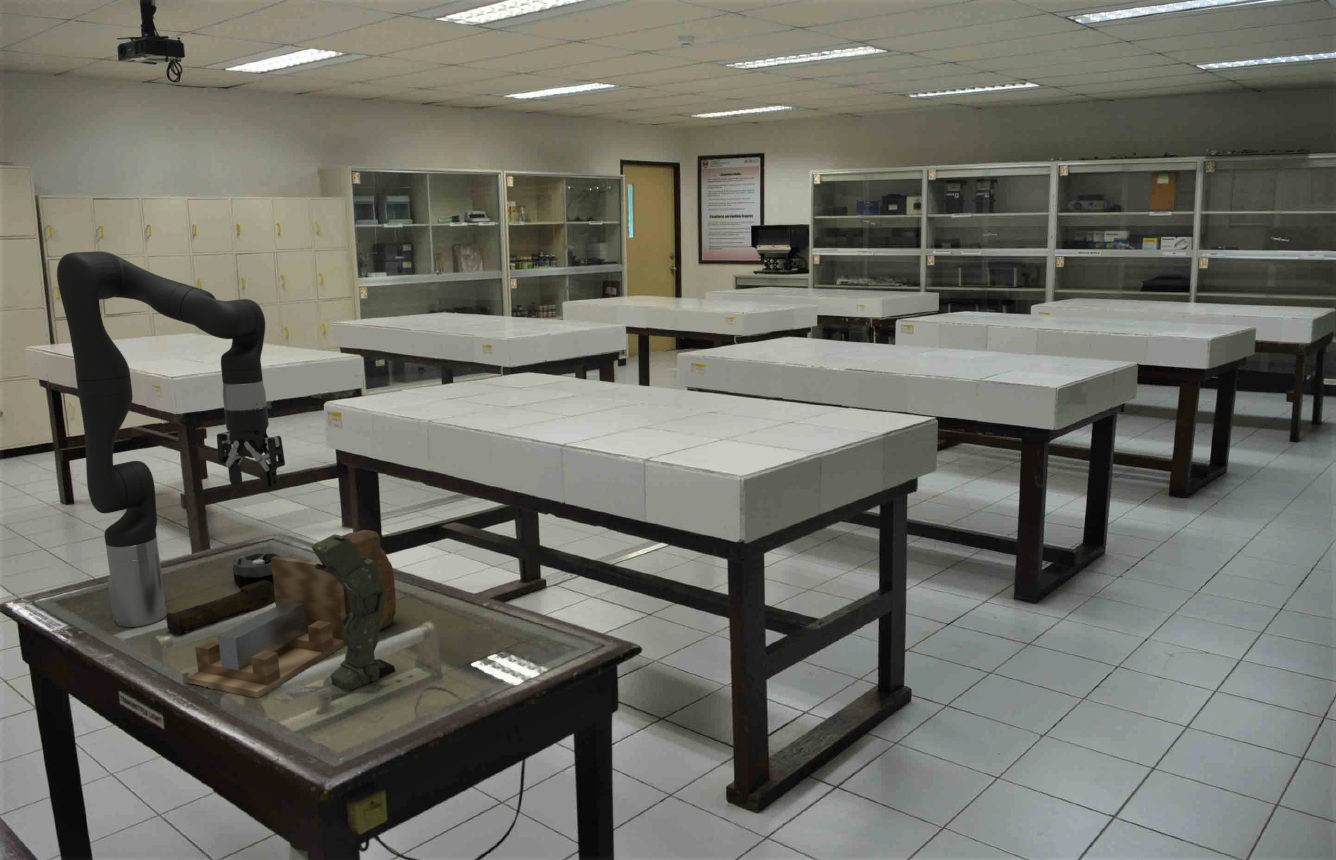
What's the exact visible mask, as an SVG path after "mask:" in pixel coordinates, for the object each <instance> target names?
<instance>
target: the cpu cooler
mask: <svg viewBox="0 0 1336 860" xmlns="http://www.w3.org/2000/svg"><path fill="white" fill-rule="evenodd" d="M275 556H277V557H282V556H281V555H280V554H277V553H272V552H259V553H251V554H247V555H241V556H239V557H236V558H234V559H233V560H234V562H233V563H232V566H233V568H232V571H233V572H232V573H233V581H234V583H235V584H236V586H237V587H238V588H239V590H241V588H242V587H243V586H246V585H247V584H252V583H256V582H259V581H263V580H268V581H270V582H271V583H272V584H273V586H274V582H273V572H272V563H271V558H273V557H275Z"/></svg>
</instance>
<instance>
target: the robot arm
mask: <svg viewBox="0 0 1336 860" xmlns="http://www.w3.org/2000/svg"><path fill="white" fill-rule="evenodd" d="M56 281H57V286H58V291H59V295H60V299H61V302H62V306H63V310H64V315H65V317H66V322H67V327H68V331H69V336H70V337H69V338H70V342H71V348H72V349H71V350H72V355H73V360H74V369H75V378H76V387H77V394H78V400H79V406H80V410H81V417H82V424H83V431H84V432H83V433H84V441H85V442H84V443H85V469H86V485H87V491H88V497H89V499H90V503H91V504H92V506H93V508H94V509H95V510H96V511H97V512H98V513H101V514H104V515H105V514H111V513H115V512H121V511H123V510H125V512H124V513H123V515H122V516H121V517H120V518H119V519H118V520H116V521H115V522H114V523H112V524H110V525H109V526H108V527H107V528H106V529H105V531H104V541H105V549H106V556H107V563H108V571H109V576H108V577H107V586H108V592H109V599H110V605H111V612H112V620H113V622H116V624H117V625H118V626H120V627H123V628H136V627H143V626H147V625H151V624H155V623H157V622H159V621H161V620H162V619H164V618H165V617H166V615H167V605H166V599H165V591H164V590H165V589H164V581H163V575H162V567H161V560H160V551H159V545H158V537H157V535H158V534H157V525H158V515H157V499H156V498H157V497H156V488H155V481H154V476H153V474H152V472H151V469H150V468H149V466H148V465H147V464H146V463H145V462H143V461H140V460H131V461H126V462H122V463H117V464H114V446H115V442H116V439H117V437H118V433H120V432H119V431H120V430H121V427H122V425H123V423H124V421H125V419H126V418H127V415H128V413H129V411H130V409H131V406H132V404H133V403H132V402H133V396H134V395H133V387H132V379H131V371H130V366H129V364H128V362H127V359H126V357H125V356H124V355H123V353H122V352H121V350H120V349H119V348H118V346H117V345H116V344H115V342H114V341H113V340H112V338H111V337H110V335H109V334H108V332H107V330H106V328H105V326H104V322H103V318H102V312H101V306H100V304H101V303H100V301H101V300H109V299H112V298H119V299H120V298H121V299H129V300H134V301H139V302H142V303H144V304H146V305H147V306H149V307H151V308H152V309H153V310H154V311H156V312H157V313H159V314H160V315H162V316H164V317H167V318H170V319H172V320H176V321H179V322H181V323H185V324H189V325H192V326H195V327H196V328H197V329H199V330H201V331H202V332H205V333H206V334H208V335H210V336H213V337H216V338H219V339H224V340H231V345H230V349H229V350H227V351H225V352H224V353H223V354H222V355H221V357H220V369H221V370H220V371H221V377H222V378H221V379H222V400H223V401H222V402H223V409H224V411H223V412H224V419H225V421H224V422H225V427H226V428H225V429H226V431H224V432H220V433H217V434H216V443H217V444H216V445H217V461H218V463H219V464H223V465H225V466H226V467H227V471H228V477H229V478H228V479H229V482H230V484H231V486H232V487H233V486H234V487H237V486H240V485H242V484H243V477H242V465H240V464H241V462H242V460H243V458H246V457H248V458H249V459H254V460H255V462H257V463H259V464H260V465H261V467H262V468H263V470H264V471H263V479H264V486H265V490H268V491H271V490H274V489H276V488H277V486H278V483H279V482H278V476H277V475H278V473H277V470H278V468H281V467H284V466H285V465H286V461H285V454H284V447H283V441H282V436H280V435H276V436H268V434H267V433H268V432H267V429H268V427H269V424H270V423H269V416H268V413H269V412H268V405H267V404H268V403H267V394H266V389H265V385H264V378H263V368H262V361H261V359H262V358H261V357H262V352H263V347H264V339H265V334H266V318H265V315H264V312H263V310H262V308H261V307H260V305H259V304H258V303H257V302H256V301H254V300H252V299H249V298H247V299H246V298H241V299H233V300H221V299H216V296H215V295H213V294H212V293H211V292H209V291H208V290H205V289H203V288H200V287H196V286H193V285H189V284H185V283H182V282H179V281H176V280H172V279H169V278H167V277H163V276H161V275H157V274H155V273H152V272H151V271H148V270H146V269H144V268H142V267H140V266H138V265H136V264H134V263H132V262H129V261H128V260H126V259H124V258H122V257H121V256H118V255H116V254H114V253H111V252H107V251H100V250H98V251H77V252H70V253H69V252H68V253H66V254H64V255H63V256H62V257H61V258H60V260H59V261H58V263H57V268H56Z"/></svg>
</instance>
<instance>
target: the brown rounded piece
mask: <svg viewBox="0 0 1336 860" xmlns="http://www.w3.org/2000/svg"><path fill="white" fill-rule="evenodd" d="M342 536H343V537H346V538H349V539H350V540H351V542H352V543H353V544H354V546H355V547H356V549H357V550H358V551H359V553H360V554H361V556H362V557H365V558H368V559H371V560H374V562H375V563H376V565H377V566H378V568H379V569H380V571H381V572H382V588H383V589H384V590H385V591H386V597H385V603H384V607H383V612H382V618H381V624H380V630H379V632H380V631H381V630H383V629H385V628H387V627H389V626H390V625H391V623H392V622H393V621H394V617H395V615H396V610H397V609H396V608H397V606H396V605H397V603H396V598H397V597H396V587H395V586H396V585H395V575H394V574H395V573H394V567H393V565H392V562H391V561H390V560H389V558H388V556H387V554H386V552H385V550H384V549H382V547H381V545H380V544H381V538H380V535H379V534H378V532H377V531H374V530H369V529H361V530H359V531H357V532H356V531H355V532H350V533H346V534H343V535H342ZM343 589H344V600H345V612H346V615H349V614H350V613H351V612H352V609H351V605H350V592H348V591H347V590H346V589H345V588H344V587H343Z"/></svg>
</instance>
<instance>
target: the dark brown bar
mask: <svg viewBox="0 0 1336 860" xmlns="http://www.w3.org/2000/svg"><path fill="white" fill-rule="evenodd" d="M273 602H276V601H275V592H274V585H273V584H272V583H271V582H270V581H268V580H263V581H259V582H256V583H252V584H247V585H246V586H243V587H242V588H241V589H239V592H236V593H232V594H229V595H227V596H224V597H221V598H218V599H214V600H211V601H209V602H205V603H202V604H198V605H195V606H193V607H189V608H186V609H182V610H180V611H176V612H168V613H167V612H166V613H167V614H166V616H165V617H166V618H165V619H166V626H167V627H166V628H167V629H168V631H169V633H170V634H172V635H173V636H179V635H180V634H181V633H188V632H189V630H191V629H195V628H196V627H199V626H202V625H205V624H208V623H211V622H214V621H218V620H220V619H223V618H225V617H228V616H231V615H234V614H237V613H240V612H244V611H245V612H249V613H251V612H254V611H258V610H260V609H263V608H264V607H265V606H268V605H270V604H272V603H273Z"/></svg>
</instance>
